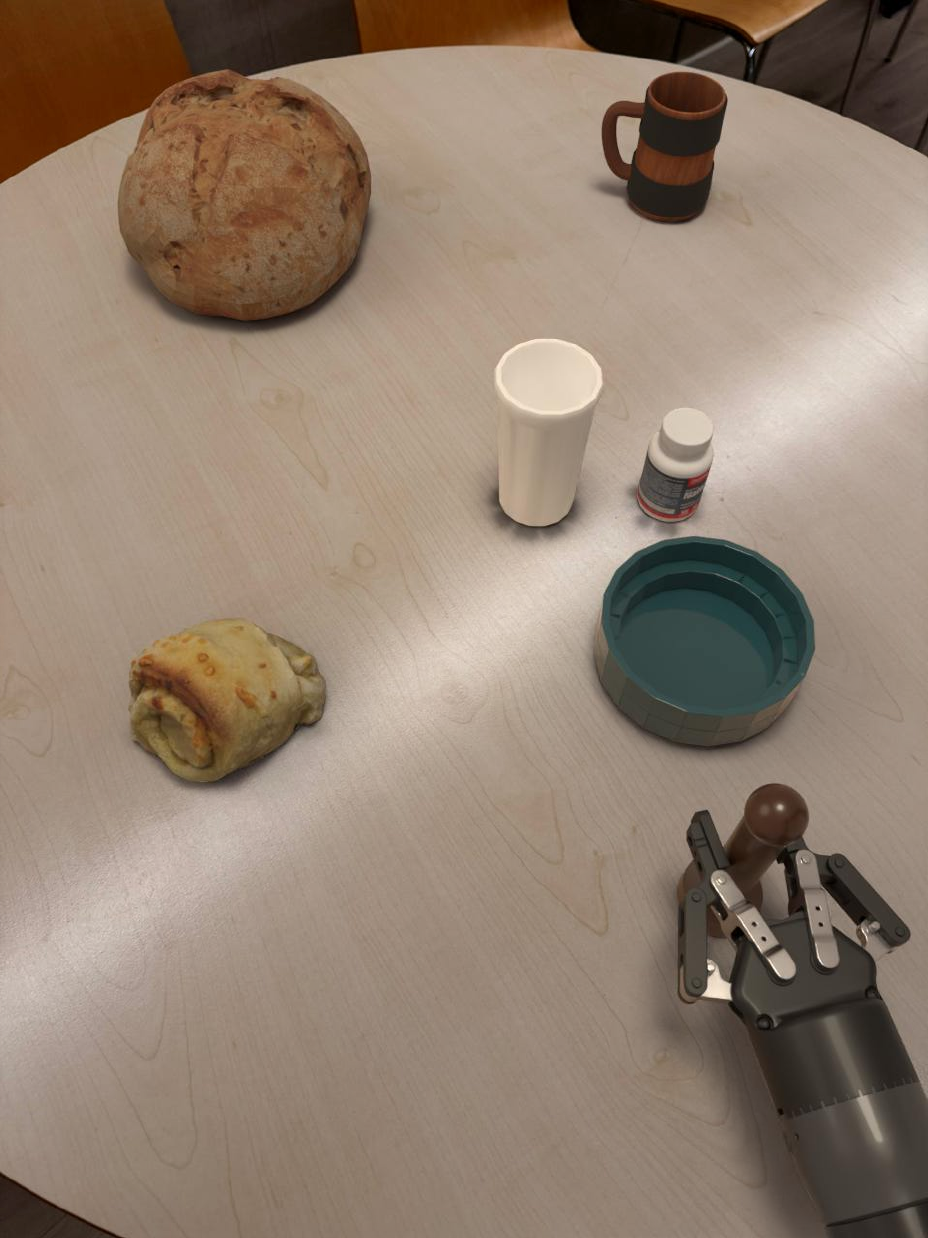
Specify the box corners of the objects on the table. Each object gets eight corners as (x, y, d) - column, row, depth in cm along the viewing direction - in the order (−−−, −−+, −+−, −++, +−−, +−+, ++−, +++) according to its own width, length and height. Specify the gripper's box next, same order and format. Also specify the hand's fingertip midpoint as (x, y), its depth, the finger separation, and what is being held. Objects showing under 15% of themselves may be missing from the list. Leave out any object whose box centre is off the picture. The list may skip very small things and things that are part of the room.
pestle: (725, 847, 70) (794, 742, 56) (771, 914, 68) (854, 823, 54) (662, 882, 69) (716, 783, 55) (706, 951, 67) (774, 867, 53)
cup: (524, 553, 84) (536, 433, 71) (469, 488, 87) (471, 363, 75) (602, 511, 86) (627, 387, 74) (546, 449, 90) (560, 322, 77)
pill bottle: (682, 533, 85) (704, 462, 77) (625, 506, 86) (642, 434, 79) (708, 491, 87) (733, 418, 80) (653, 466, 89) (672, 392, 81)
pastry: (109, 776, 73) (74, 726, 66) (161, 628, 79) (134, 569, 73) (304, 802, 72) (288, 754, 65) (340, 650, 78) (329, 592, 72)
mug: (596, 167, 111) (610, 60, 101) (707, 178, 110) (732, 71, 100) (589, 217, 107) (603, 110, 97) (705, 229, 106) (731, 122, 96)
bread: (336, 346, 96) (319, 206, 83) (98, 317, 98) (45, 176, 85) (391, 175, 110) (384, 33, 97) (181, 152, 112) (147, 10, 99)
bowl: (717, 551, 84) (732, 509, 79) (834, 697, 77) (858, 660, 72) (556, 622, 80) (563, 583, 75) (664, 784, 73) (679, 751, 68)
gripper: (1007, 1063, 51) (858, 757, 60) (742, 1137, 50) (629, 809, 58) (946, 1085, 58) (819, 805, 67) (709, 1151, 56) (612, 854, 65)
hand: (731, 809), depth 63 cm, fingers open, 3 cm apart
